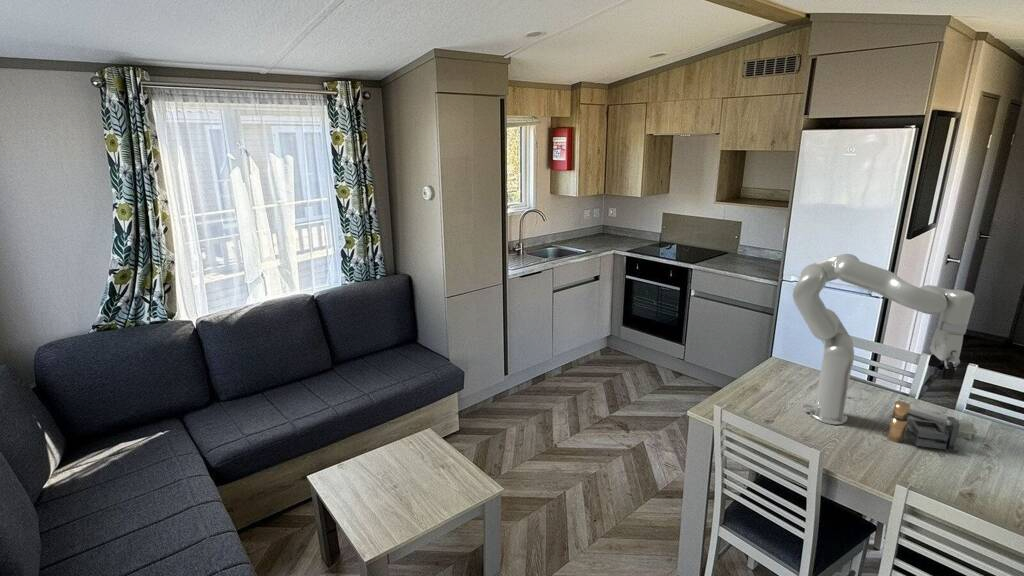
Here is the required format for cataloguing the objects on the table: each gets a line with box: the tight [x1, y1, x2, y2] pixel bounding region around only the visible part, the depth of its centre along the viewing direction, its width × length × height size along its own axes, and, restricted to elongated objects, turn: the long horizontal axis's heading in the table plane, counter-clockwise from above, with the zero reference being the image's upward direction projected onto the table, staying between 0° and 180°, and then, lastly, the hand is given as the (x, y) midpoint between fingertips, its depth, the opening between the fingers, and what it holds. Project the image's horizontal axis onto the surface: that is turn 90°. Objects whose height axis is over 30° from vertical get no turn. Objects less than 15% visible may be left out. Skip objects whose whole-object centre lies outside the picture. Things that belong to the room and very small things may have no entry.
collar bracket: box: [905, 416, 960, 454], centre depth 188 cm, size 9×13×10 cm
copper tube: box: [887, 400, 910, 443], centre depth 190 cm, size 4×4×14 cm
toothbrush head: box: [902, 401, 978, 441], centre depth 201 cm, size 5×7×25 cm
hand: (939, 372), depth 186 cm, fingers open, 9 cm apart
